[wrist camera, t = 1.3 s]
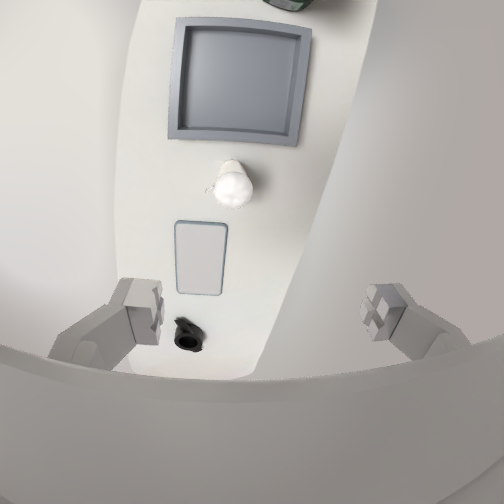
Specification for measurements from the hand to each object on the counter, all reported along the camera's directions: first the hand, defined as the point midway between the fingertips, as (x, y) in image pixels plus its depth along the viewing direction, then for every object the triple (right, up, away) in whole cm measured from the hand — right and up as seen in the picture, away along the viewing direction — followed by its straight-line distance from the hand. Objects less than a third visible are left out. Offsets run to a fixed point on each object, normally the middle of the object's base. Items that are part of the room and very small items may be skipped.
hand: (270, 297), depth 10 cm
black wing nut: (-14, -15, +47) cm, 51 cm away
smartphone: (-10, +1, +37) cm, 38 cm away
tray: (-3, +24, +21) cm, 32 cm away
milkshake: (-4, +13, +28) cm, 31 cm away
